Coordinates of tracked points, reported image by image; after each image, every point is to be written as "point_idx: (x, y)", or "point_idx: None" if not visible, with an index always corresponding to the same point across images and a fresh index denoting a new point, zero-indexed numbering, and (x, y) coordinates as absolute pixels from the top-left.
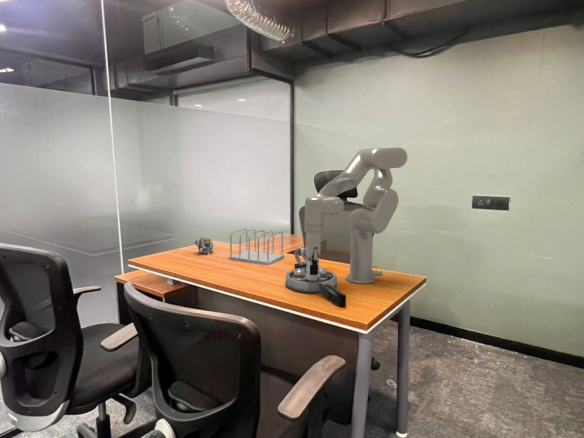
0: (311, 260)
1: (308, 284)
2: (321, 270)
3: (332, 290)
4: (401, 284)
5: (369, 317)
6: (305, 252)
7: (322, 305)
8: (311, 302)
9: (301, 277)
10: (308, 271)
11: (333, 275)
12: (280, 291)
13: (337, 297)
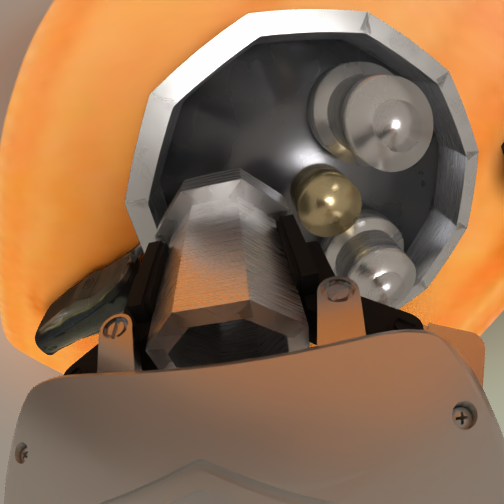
0: (101, 368)
1: (127, 200)
2: (365, 291)
3: (57, 326)
4: None
5: (35, 357)
6: (340, 369)
7: (33, 254)
8: (40, 208)
9: (334, 132)
10: (179, 236)
11: None
12: (162, 2)
13: (41, 325)
